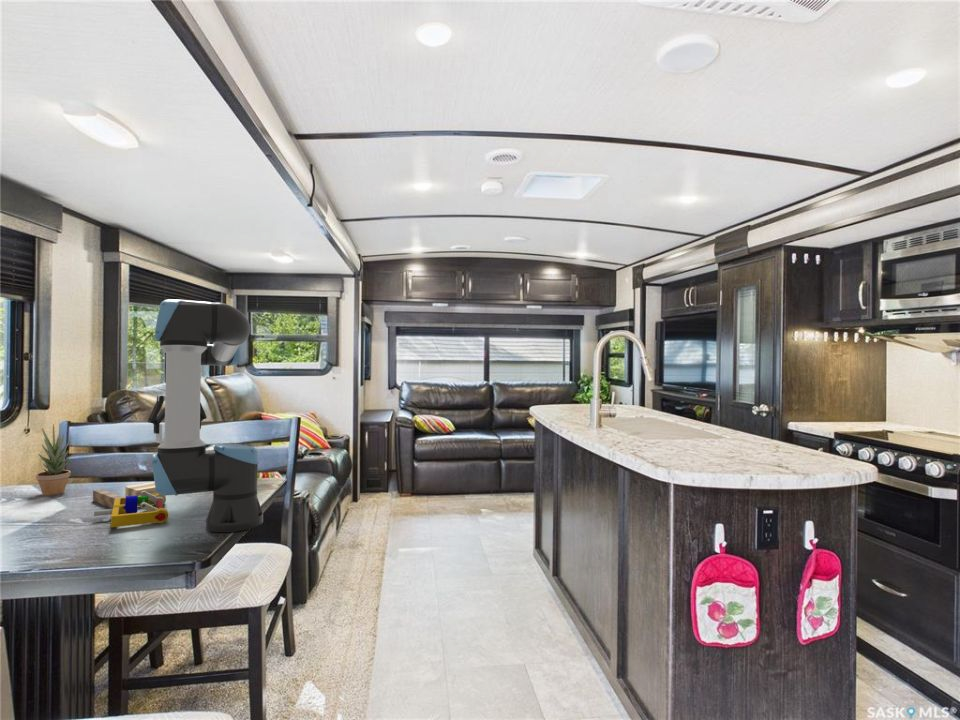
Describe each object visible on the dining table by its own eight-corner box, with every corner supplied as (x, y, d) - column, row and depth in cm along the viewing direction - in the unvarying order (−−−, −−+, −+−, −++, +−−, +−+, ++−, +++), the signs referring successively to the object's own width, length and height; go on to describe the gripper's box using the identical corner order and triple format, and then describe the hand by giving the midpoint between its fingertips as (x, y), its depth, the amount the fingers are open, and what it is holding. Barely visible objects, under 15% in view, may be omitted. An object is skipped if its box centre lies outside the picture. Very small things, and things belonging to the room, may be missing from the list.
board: (124, 508, 166) (124, 497, 166) (115, 510, 164) (115, 499, 164) (101, 499, 176) (101, 489, 176) (92, 500, 174) (93, 490, 174)
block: (165, 496, 182) (165, 485, 182) (136, 502, 174) (136, 490, 175) (153, 493, 187) (153, 481, 187) (125, 498, 180) (125, 486, 180)
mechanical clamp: (165, 482, 176) (169, 501, 151) (164, 501, 176) (168, 523, 151) (99, 487, 166) (91, 509, 141) (98, 507, 166) (89, 532, 141)
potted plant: (29, 494, 180) (30, 423, 181) (60, 489, 189) (61, 421, 189) (46, 498, 177) (47, 425, 177) (77, 492, 185) (78, 422, 185)
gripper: (207, 380, 200) (205, 436, 200) (137, 381, 180) (135, 443, 180) (217, 380, 196) (216, 438, 196) (147, 382, 176) (145, 445, 176)
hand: (177, 440), depth 188 cm, fingers open, 12 cm apart
